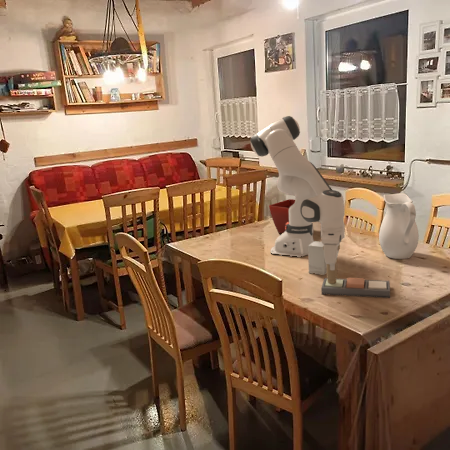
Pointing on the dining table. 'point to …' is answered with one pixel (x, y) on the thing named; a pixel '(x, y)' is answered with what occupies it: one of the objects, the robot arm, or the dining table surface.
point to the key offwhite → (377, 285)
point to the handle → (332, 272)
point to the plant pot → (281, 214)
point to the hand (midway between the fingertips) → (333, 267)
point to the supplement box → (316, 258)
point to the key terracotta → (355, 283)
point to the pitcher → (399, 227)
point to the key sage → (338, 284)
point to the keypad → (357, 290)
